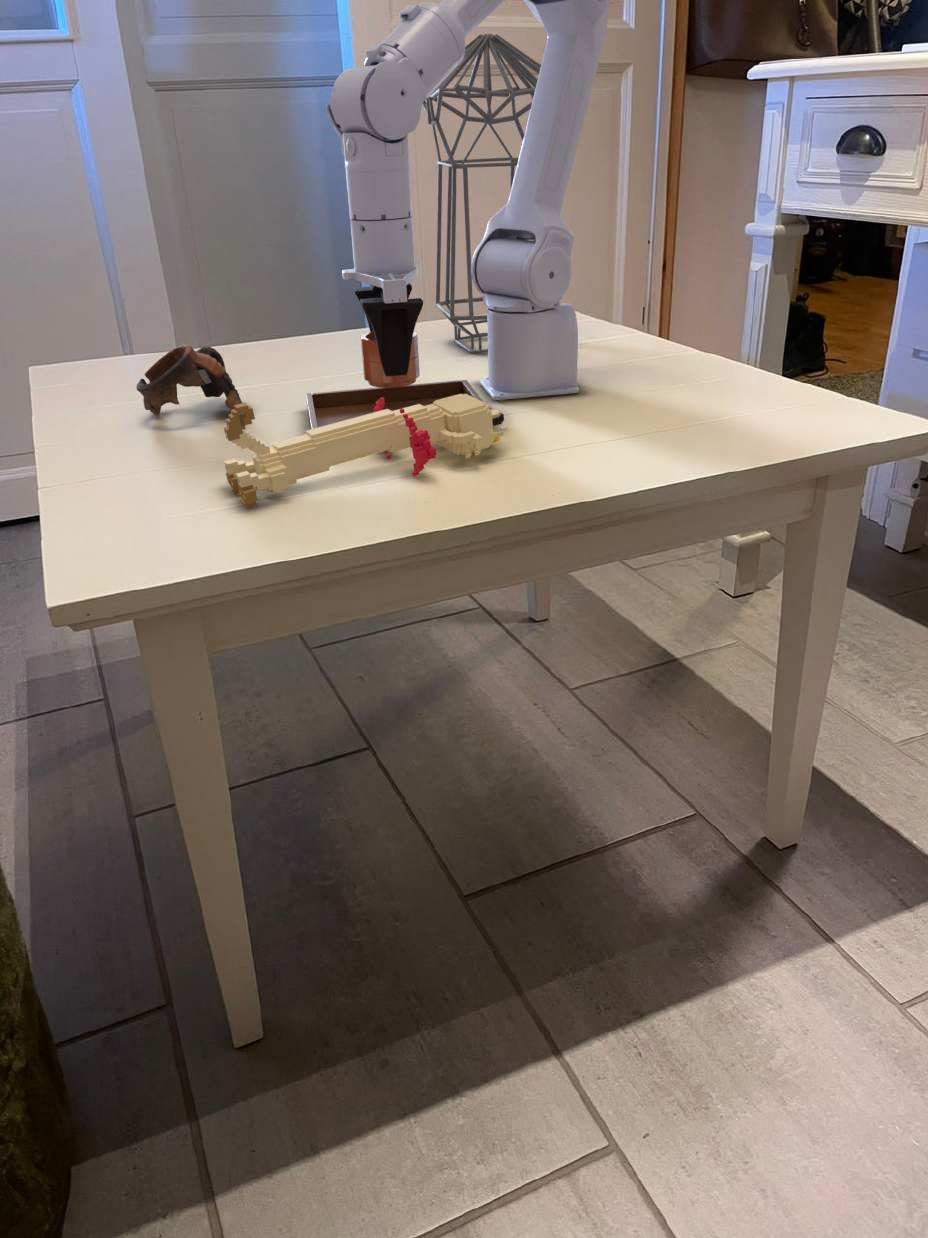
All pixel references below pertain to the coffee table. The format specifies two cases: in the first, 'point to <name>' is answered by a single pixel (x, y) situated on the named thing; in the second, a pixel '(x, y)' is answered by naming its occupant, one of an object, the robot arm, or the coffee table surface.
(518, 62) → the geometric lantern
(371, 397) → the tray
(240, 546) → the coffee table surface
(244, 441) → the cat figure
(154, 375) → the broken pottery shard
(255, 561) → the coffee table surface
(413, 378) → the cup
